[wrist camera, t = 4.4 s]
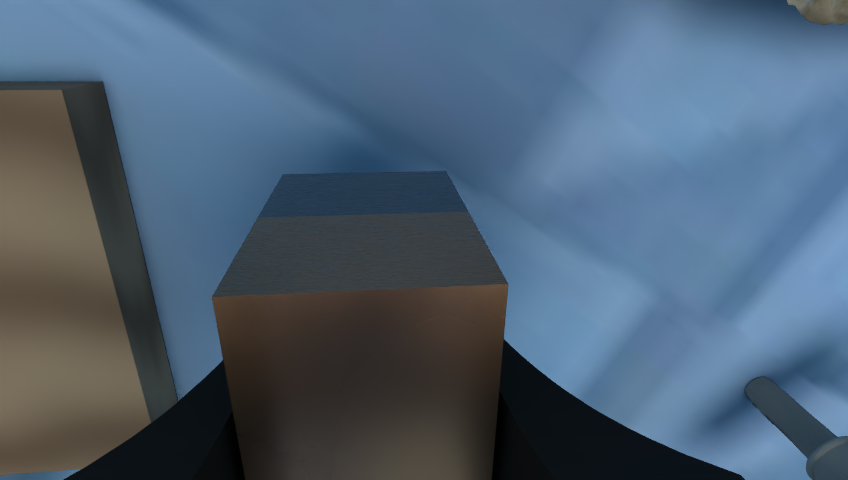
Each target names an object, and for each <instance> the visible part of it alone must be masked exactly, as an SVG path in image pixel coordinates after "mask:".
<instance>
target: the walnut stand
mask: <svg viewBox="0 0 848 480" xmlns="http://www.w3.org/2000/svg"><path fill="white" fill-rule="evenodd" d="M177 402H178V400H177V396H176V391H175V387H174V383H173V379H172V374H171V370H170V366H169V362H168V357H167V353H166V349H165V345H164V340H163V336H162V332H161V328H160V323H159V319H158V315H157V311H156V307H155V302H154V298H153V294H152V290H151V285H150V281H149V277H148V273H147V268H146V264H145V260H144V256H143V251H142V247H141V243H140V239H139V234H138V230H137V226H136V222H135V217H134V213H133V209H132V205H131V200H130V196H129V192H128V188H127V184H126V179H125V175H124V171H123V167H122V162H121V158H120V154H119V150H118V145H117V141H116V137H115V133H114V128H113V124H112V120H111V116H110V111H109V107H108V103H107V99H106V94H105V90H104V86H103V82H0V475H7V474H21V473H34V472H47V471H61V470H74V469H83V468H85V467H86V466H88V465H89V464H91V463H92V462H94V461H95V460H97V459H99V458H100V457H102V456H103V455H105V454H106V453H108V452H109V451H111V450H113V449H114V448H116V447H117V446H119V445H120V444H122V443H123V442H125V441H127V440H128V439H130V438H131V437H132V436H134V435H135V434H137V433H138V432H139V431H141V430H142V429H143V428H145V427H146V426H148V425H149V424H150V423H152V422H153V421H154V420H156V419H157V418H158V417H160V416H161V415H162V414H163V413H165V412H166V411H167V410H169V409H170V408H171V407H172V406H173V405H175V404H176V403H177Z"/></svg>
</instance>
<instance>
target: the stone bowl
mask: <svg viewBox="0 0 848 480" xmlns="http://www.w3.org/2000/svg"><path fill="white" fill-rule="evenodd" d="M787 2H788V5H795V6H796V8H797V9H798V11H799V12H800V14H801V15H803V16H804V17H805V18H806V19H807V20H808V21H810V22H814V23H818V24H822V25H826V24H831V23H837V24H839V25H842V24H846V23H848V0H787Z"/></svg>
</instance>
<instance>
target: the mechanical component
mask: <svg viewBox="0 0 848 480" xmlns="http://www.w3.org/2000/svg"><path fill="white" fill-rule="evenodd" d="M745 391H746V393H747V395H748V397H749V399H750V400H751V401H752V404H753V405H754V406H755V407H756V408H757V409H758V410H759V411H760V412H761V413H762V414H763V415H764V416H765V417H766V418H767V419H768V420H769V421H770V422H771V423H772V424H774V425H775V426H776V427H777V428H778V429H779V430H780V431H781V432H782V433H783V434H784V435H785V436H786V437H787V438H788V439H789V440H790V441H791V442H792V443H793V444H794V445H795V446H796V447H797V448H798V449H799V450H800V451H801V452H802V453H803V454H804V455H805V456H806V457H807V459H808V460H807V463H806V471H807V474H808V476H809V477H810V478H811V479H812V480H848V436H841V437H837V436H836V435H834V434H833V433H832V432H831V431H830V430H829V429H827V428H826V427H825V426H824V425H823V424H821V423H820V422H819V421H818V420H817V419H815V418H814V417H813V416H812V415H811V414H810V413H809V412H807V411H806V410H805V409H804V408H803V407H802V406H801V405H799V404H798V403H797V402H796V401H795V400H794V399H793V398H792V397H790V396H789V395H788V394H787V393H786V392H785V391H784V390H782V389H781V388H780V387H779V386H777V385H776V384H775V383H774V382H773V381H771V380H769V379H768V378H765V377H759V378H756V379H754V380H752V381H751V382H750V383H749V384H748V385H747V386H746V388H745Z"/></svg>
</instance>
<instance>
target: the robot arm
mask: <svg viewBox="0 0 848 480" xmlns="http://www.w3.org/2000/svg"><path fill="white" fill-rule="evenodd" d="M64 480H245V476H244V470H243V465H242V459H241V454H240V448H239V443H238V437H237V432H236V426H235V421H234V415H233V410H232V404H231V399H230V393H229V388H228V382H227V377H226V371H225V366H224V361H222V362H221V363H220V364H219V365H218V366H217V367H216V368H215V369H213V370H212V371H211V372H210V373H209V374H208V375H207V376H206V377H205V378H204V379H203V380H202V381H201V382H200V383H199V384H197V385H196V386H195V387H194V388H193V389H192V390H191V391H190V392H188V393H187V394H186V395H185V396H184V397H183V398H182V399H180V400H179V401H178V402H177V403H176V404H175V405H173V406H172V407H171V408H170V409H169V410H167V411H166V412H165V413H163V414H162V415H161V416H160V417H158V418H157V419H156V420H154V421H153V422H152V423H150V424H149V425H148V426H146V427H145V428H143V429H142V430H141V431H139V432H138V433H137V434H135V435H134V436H132V437H131V438H130V439H128V440H127V441H125V442H123V443H122V444H120V445H119V446H117V447H116V448H114V449H113V450H111V451H109V452H108V453H106V454H105V455H103V456H102V457H100V458H99V459H97V460H95V461H94V462H92V463H91V464H89V465H88V466H86V467H85V468H83V469H81V470H80V471H78V472H76V473H74V474H73V475H71V476H69V477H67V478H66V479H64ZM492 480H745V479H744V478H743V477H742V476H741V475H739V474H736V473H734V472H731V471H728V470H726V469H723V468H720V467H718V466H715V465H712V464H709V463H707V462H704V461H701V460H699V459H696V458H693V457H691V456H688V455H685V454H683V453H681V452H678V451H676V450H674V449H672V448H669V447H667V446H665V445H663V444H660V443H658V442H656V441H654V440H651V439H649V438H647V437H645V436H643V435H641V434H639V433H637V432H635V431H633V430H631V429H629V428H627V427H625V426H623V425H622V424H620V423H618V422H616V421H614V420H612V419H611V418H609V417H607V416H605V415H603V414H602V413H600V412H598V411H597V410H595V409H593V408H592V407H590V406H588V405H587V404H585V403H584V402H582V401H581V400H579V399H578V398H576V397H575V396H573V395H572V394H570V393H569V392H567V391H566V390H564V389H563V388H561V387H560V386H559V385H557V384H556V383H554V382H553V381H552V380H551V379H549V378H548V377H547V376H545V375H544V374H543V373H542V372H540V371H539V370H538V369H537V368H535V367H534V366H533V365H532V364H531V363H529V362H528V361H527V360H526V359H525V358H524V357H522V356H521V355H520V354H519V353H518V352H517V351H516V350H515V349H514V348H513V347H511V346H510V345H509V344H508V343H507V342H506V341H505V340H503V352H502V363H501V375H500V387H499V399H498V411H497V423H496V434H495V446H494V458H493V470H492Z"/></svg>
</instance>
